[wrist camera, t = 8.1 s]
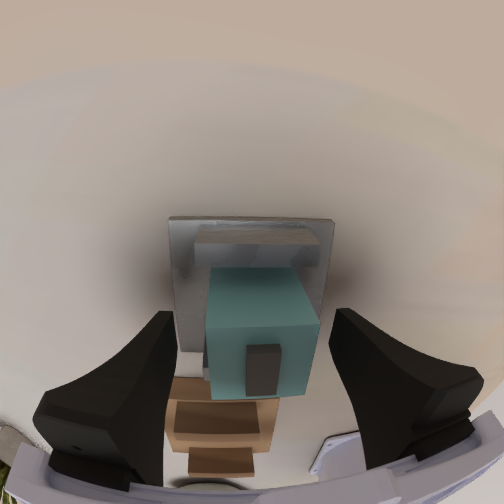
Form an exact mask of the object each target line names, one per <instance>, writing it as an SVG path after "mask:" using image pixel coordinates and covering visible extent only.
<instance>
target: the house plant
mask: <svg viewBox="0 0 504 504" xmlns="http://www.w3.org/2000/svg"><path fill="white" fill-rule="evenodd" d="M21 442H24V443H26V444H29V445H31V446H33V444H32V443H31V442H30V441H29V440H28V439H27V438H26V437H25V436H24V435H23V434H21V433H20V432H18V431H17V430H15V429H14V428H12V427H10V426H7V425H5V426H4V427H3V428H2V430H1V431H0V500H1V496H2V489H3V504H10V503H9V494H8V493H7V492H5V490H4V488H5V485H6V482H7V479H8V476H9V473H10V470H11V467H12V465H13V462H14V459H15V457H16V454H17V452H18V449H19V447H20V444H21ZM3 486H4V488H3ZM11 499H12V504H17V502H16V499H15V498H14V497H12V496H11Z"/></svg>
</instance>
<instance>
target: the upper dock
mask: <svg viewBox="0 0 504 504" xmlns="http://www.w3.org/2000/svg"><path fill="white" fill-rule="evenodd" d="M279 399H280V398H279V397H274V398H259V399H230V400H212V396H211V386H210V381H204V378H183V377H173V382H172V386H171V390H170V395H169V400H168V404H167V410H166V416H165V432H166V434H167V437H168V440H169V442H170V445H171V447H172V450H173V452H181V453H189V459H188V474H189V476H190V477H206V478H238V477H254V473H255V472H254V464H253V455H252V453H263V452H269V450H270V445H271V440H272V435H273V431H274V425H275V420H276V415H277V410H278V405H279Z"/></svg>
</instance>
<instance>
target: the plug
mask: <svg viewBox="0 0 504 504" xmlns="http://www.w3.org/2000/svg"><path fill="white" fill-rule="evenodd" d="M319 329H320V322H319V320H318V317H317V315H316V313H315V311H314V309H313V307H312V305H311V303H310V301H309V299H308V297H307V295H306V292H305V290H304V288H303V286H302V284H301V282H300V280H299V278H298V276H297V274H296V272H295V270H294V268H293V267H269V268H240V267H211V271H210V281H209V292H208V303H207V314H206V326H205V330H206V343H207V354H208V366H209V376H210V386H211V396H212V400H230V399H259V398H274V397H287V396H297V395H305V391H306V387H307V383H308V378H309V374H310V370H311V366H312V361H313V357H314V353H315V348H316V343H317V339H318V334H319Z"/></svg>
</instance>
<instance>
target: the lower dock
mask: <svg viewBox="0 0 504 504" xmlns="http://www.w3.org/2000/svg"><path fill="white" fill-rule="evenodd" d="M334 226H335V223H334V222H333V221H332V220H328V219H301V218H263V217H170V218H169V220H168V227H169V244H170V258H171V270H172V281H173V292H174V301H175V310H176V319H177V327H178V334H179V342H180V349H181V352H204V354H203V377H204V381H210V376H209V366H208V354H207V343H206V330H205V326H206V314H207V303H208V292H209V281H210V271H211V267H240V268H269V267H293V268H294V270H295V272H296V274H297V276H298V278H299V280H300V282H301V284H302V286H303V288H304V290H305V292H306V295H307V297H308V299H309V301H310V303H311V305H312V307H313V309H314V311H315V313H316V315H317V317H318V320H319V317H320V312H321V306H322V301H323V296H324V290H325V285H326V279H327V273H328V267H329V260H330V254H331V247H332V240H333V233H334Z"/></svg>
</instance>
